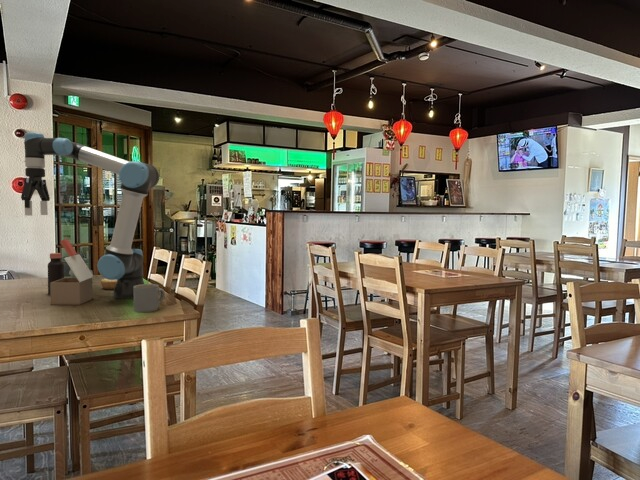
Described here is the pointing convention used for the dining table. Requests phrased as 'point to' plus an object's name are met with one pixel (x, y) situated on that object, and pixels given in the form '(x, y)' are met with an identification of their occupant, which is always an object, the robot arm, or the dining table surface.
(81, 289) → the carton
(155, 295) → the coffee mug
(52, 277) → the bottle
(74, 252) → the lid
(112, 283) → the pastry
